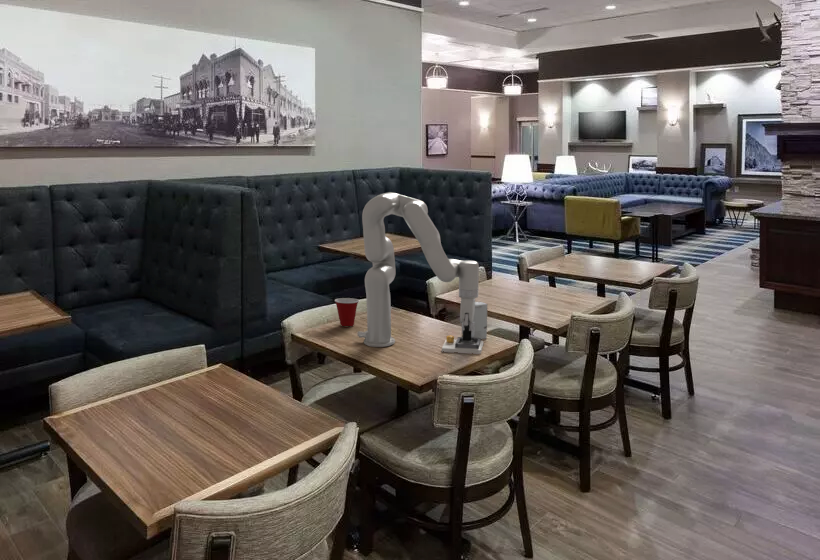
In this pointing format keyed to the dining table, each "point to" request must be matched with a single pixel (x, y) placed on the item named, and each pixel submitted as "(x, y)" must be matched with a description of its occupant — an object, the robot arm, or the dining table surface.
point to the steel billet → (471, 333)
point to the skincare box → (480, 320)
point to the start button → (449, 338)
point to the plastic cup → (346, 310)
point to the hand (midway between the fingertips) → (467, 337)
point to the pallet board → (463, 346)
